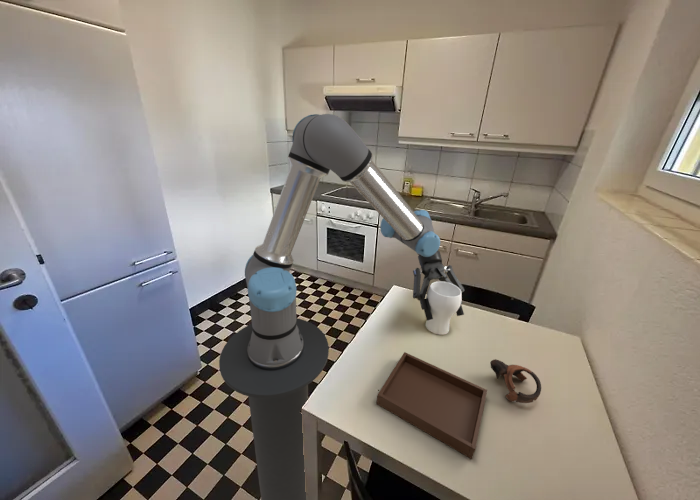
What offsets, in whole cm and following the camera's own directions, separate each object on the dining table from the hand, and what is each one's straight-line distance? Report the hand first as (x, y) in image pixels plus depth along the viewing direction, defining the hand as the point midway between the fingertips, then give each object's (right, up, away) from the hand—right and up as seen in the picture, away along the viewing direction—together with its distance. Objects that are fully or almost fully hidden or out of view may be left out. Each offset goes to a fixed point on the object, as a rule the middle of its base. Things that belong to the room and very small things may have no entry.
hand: (445, 317), depth 89 cm
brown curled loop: (+11, -14, -16) cm, 24 cm away
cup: (-1, -5, +5) cm, 7 cm away
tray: (-11, -15, -21) cm, 28 cm away
